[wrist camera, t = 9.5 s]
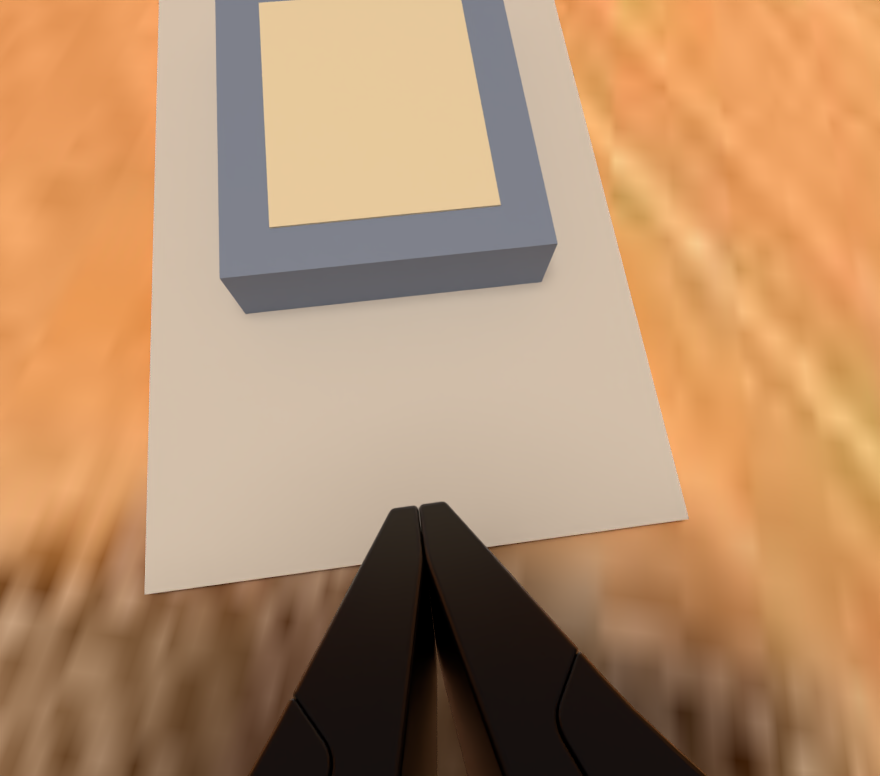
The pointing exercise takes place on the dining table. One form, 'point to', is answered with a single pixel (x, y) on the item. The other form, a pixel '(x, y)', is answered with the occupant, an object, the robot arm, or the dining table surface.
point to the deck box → (373, 152)
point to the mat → (388, 368)
